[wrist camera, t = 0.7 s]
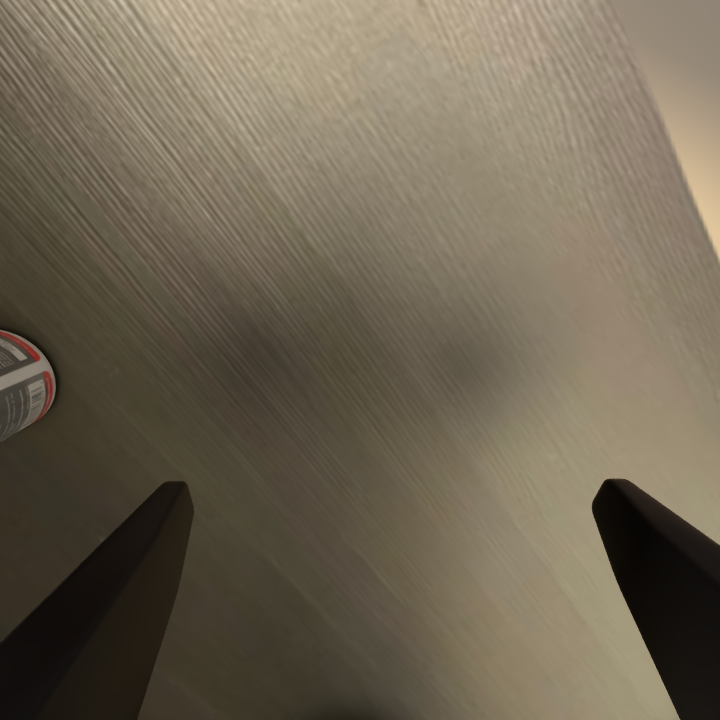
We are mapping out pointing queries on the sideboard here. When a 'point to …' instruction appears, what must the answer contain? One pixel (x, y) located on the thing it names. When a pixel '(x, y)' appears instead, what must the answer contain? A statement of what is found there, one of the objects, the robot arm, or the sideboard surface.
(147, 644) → the robot arm
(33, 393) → the pill bottle
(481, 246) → the sideboard surface
